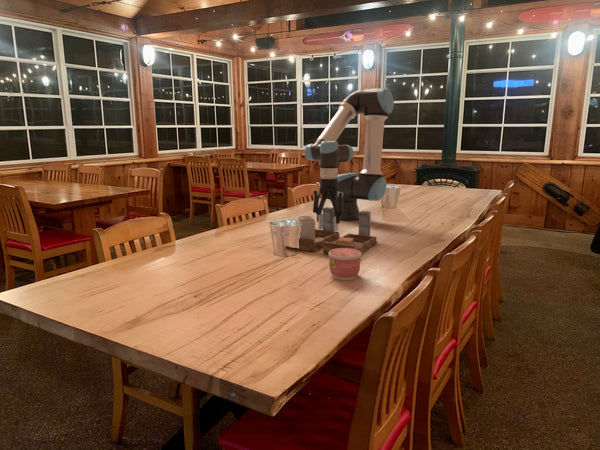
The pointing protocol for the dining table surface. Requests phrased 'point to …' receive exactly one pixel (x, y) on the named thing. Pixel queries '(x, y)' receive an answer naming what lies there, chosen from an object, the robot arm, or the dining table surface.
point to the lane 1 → (321, 232)
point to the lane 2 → (355, 236)
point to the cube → (346, 240)
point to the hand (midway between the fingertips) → (328, 229)
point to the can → (307, 227)
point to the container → (344, 263)
